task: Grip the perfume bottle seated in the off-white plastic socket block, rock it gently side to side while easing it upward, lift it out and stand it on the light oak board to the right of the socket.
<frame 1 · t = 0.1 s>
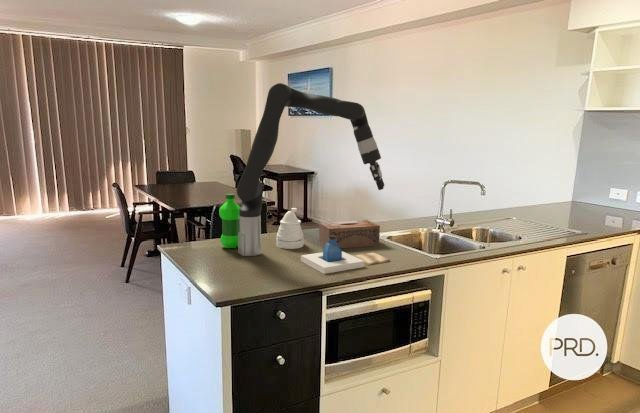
hand: (381, 188, 182), 31 cm above the worktop, tool tilted 20°, fingers open, 8 cm apart
plastic bottle: (231, 247, 207), on the worktop
tissue box cover: (348, 244, 217), on the worktop
socket block: (332, 264, 184), on the worktop
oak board: (370, 259, 191), on the worktop
honey pot: (290, 245, 212), on the worktop
perfume bottle: (332, 264, 184), resting in socket block
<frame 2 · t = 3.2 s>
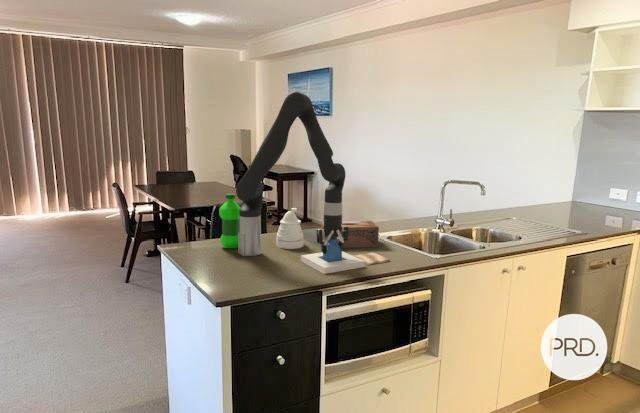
hand: (332, 252, 183), 5 cm above the worktop, tool pointing down, fingers closed on perfume bottle, 7 cm apart
perfume bottle: (332, 264, 184), resting in socket block, touching gripper
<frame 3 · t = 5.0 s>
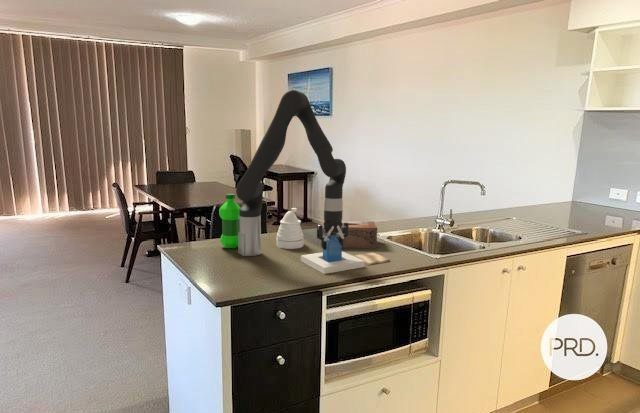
hand: (332, 248, 182), 7 cm above the worktop, tool pointing down, fingers closed on perfume bottle, 7 cm apart
perfume bottle: (331, 260, 183), point 2 cm above the worktop, touching gripper
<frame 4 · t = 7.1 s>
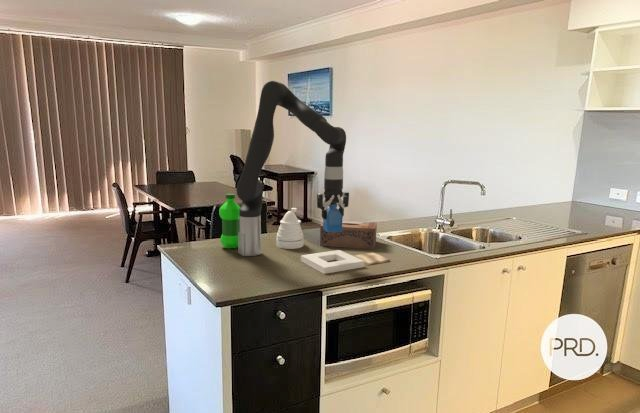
hand: (332, 218, 180), 19 cm above the worktop, tool pointing down, fingers closed on perfume bottle, 7 cm apart
perfume bottle: (332, 230, 181), point 14 cm above the worktop, touching gripper
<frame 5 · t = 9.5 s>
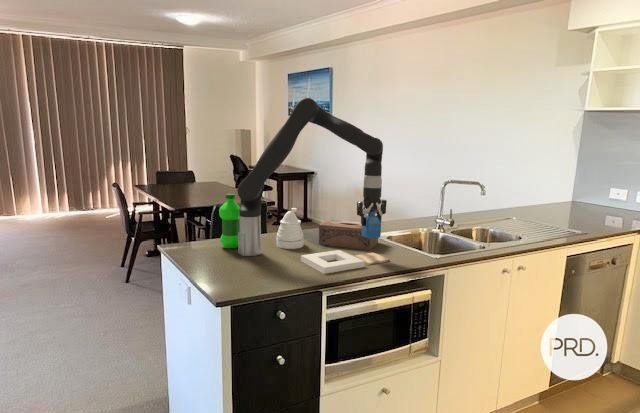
hand: (371, 224, 188), 15 cm above the worktop, tool pointing down, fingers closed on perfume bottle, 7 cm apart
perfume bottle: (370, 236, 189), point 10 cm above the worktop, touching gripper
when the fingers open (7 cm above the worktop, at t = 11.5 s): perfume bottle drops 1 cm, resting on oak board.
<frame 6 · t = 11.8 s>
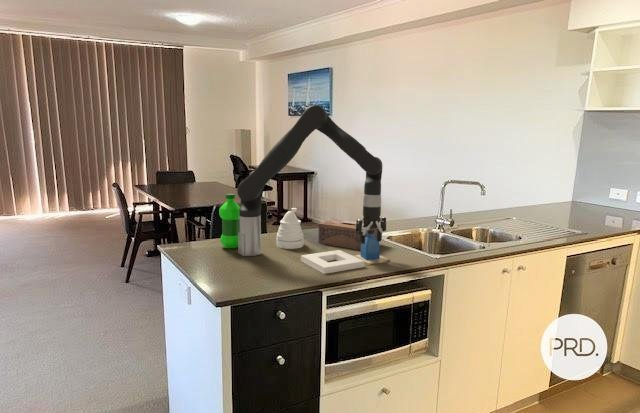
hand: (370, 242, 189), 8 cm above the worktop, tool pointing down, fingers open, 8 cm apart
perfume bottle: (369, 258, 191), point 1 cm above the worktop, touching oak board
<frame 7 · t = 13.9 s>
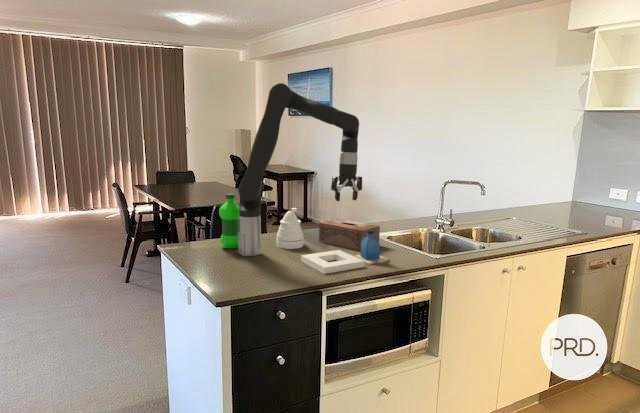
hand: (346, 200, 192), 25 cm above the worktop, tool pointing down, fingers open, 8 cm apart
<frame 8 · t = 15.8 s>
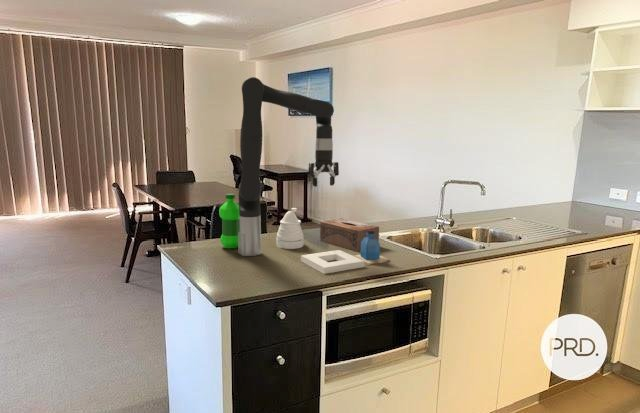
hand: (323, 185, 197), 30 cm above the worktop, tool pointing down, fingers open, 8 cm apart
at the end: perfume bottle inside the target area on the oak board (0.1 cm from its centre), point 0.6 cm above the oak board's base; perfume bottle tilted 0°; the gripper is holding nothing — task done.
